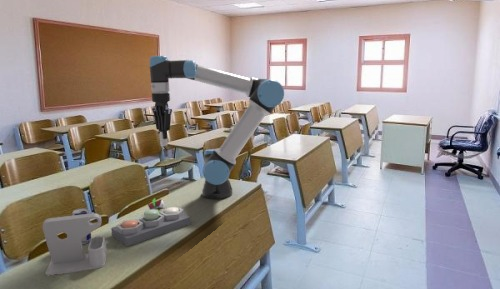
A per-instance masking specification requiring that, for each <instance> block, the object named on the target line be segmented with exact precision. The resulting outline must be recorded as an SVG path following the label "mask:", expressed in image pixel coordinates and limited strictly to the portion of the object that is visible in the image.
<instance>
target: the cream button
mask: <svg viewBox="0 0 500 289" xmlns="http://www.w3.org/2000/svg"><path fill="white" fill-rule="evenodd" d="M176 207H177V206H173V207H166V208H167V209H165V208H164V209H165V214H176V213H178V212H179V209H178V208H176Z"/></svg>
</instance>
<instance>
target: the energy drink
mask: <svg viewBox="0 0 500 289" xmlns="http://www.w3.org/2000/svg"><path fill="white" fill-rule="evenodd" d="M82 214H90V212H89V209H88V208H85V207H83V208H82V207H80V208H76V209H74V210H72V213H71V216H73V215H82ZM90 220H91V219H89V220H88V222H90ZM90 223H91V222H90ZM91 239H93V238H92V232H91V233H89V234H88V235H87V236H85V237H84V238H82V239H81V242H82V245H86V244H89V243H90V240H91Z"/></svg>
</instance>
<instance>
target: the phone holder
mask: <svg viewBox="0 0 500 289" xmlns="http://www.w3.org/2000/svg"><path fill="white" fill-rule="evenodd" d="M92 219H94V220H97V221H96V222H88V220H92ZM102 222H103V221H102V216H101V215H100V214H99V213H96V212H92V213H90V212H89V214H82V215H73V216H72V215H66V216H65V215H64V216H57V217H49V218H46V219H45V220H44V221H43V223H42V226H41V227H42V232H43V235H44V239H45V242H46V245H47V249H48V252H49V255H50V258H51V260H50V262H49V264H48V265H47V268H46V270H45V272H44V273H45V276H46V275H52V276H55V275H54V274H58V275H64V274H68V273H75V272H82V271H88V270H95V269H101V268H103V267H105V265H106V260H107V256H108V255H107V247H106V238H105V237H104V236H96V237H93V238H92V239H91V240H90V242H89V243H88V247H87V253H85V252H84V247H83V244H82V242H81V239H82V238H84V237H85V236H87V235H88V234H89V233H91V234H92V233H93V231H96V230H97V229H98V228H100V227H101V226H102ZM61 233H63V234H66V237H65V238H60V237H59V236H58V235H59V234H61ZM63 273H64V274H63Z"/></svg>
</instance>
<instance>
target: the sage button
mask: <svg viewBox="0 0 500 289" xmlns="http://www.w3.org/2000/svg"><path fill="white" fill-rule="evenodd" d="M143 216H144V219H145V220H147V221H152V220H156V219H158V218H159V211H158V210H155V209H152V210H150V209H148V210H144V212H143Z"/></svg>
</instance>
